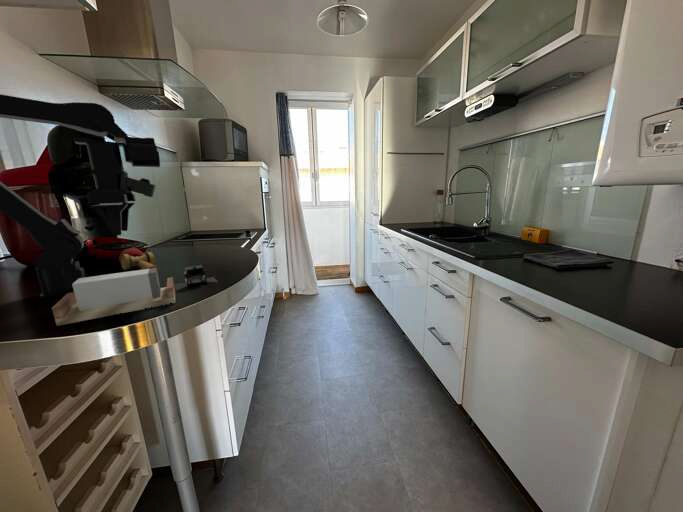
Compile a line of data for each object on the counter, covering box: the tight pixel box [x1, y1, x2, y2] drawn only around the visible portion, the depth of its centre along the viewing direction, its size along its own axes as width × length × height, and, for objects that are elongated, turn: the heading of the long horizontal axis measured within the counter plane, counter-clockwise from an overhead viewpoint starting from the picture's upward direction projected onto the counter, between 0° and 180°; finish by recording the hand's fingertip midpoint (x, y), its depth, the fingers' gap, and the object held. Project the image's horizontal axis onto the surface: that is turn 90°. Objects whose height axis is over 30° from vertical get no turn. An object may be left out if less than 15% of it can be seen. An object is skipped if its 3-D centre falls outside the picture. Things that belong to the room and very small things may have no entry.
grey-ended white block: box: [72, 268, 161, 311], centre depth 52 cm, size 12×4×5 cm, turn 121°
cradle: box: [51, 276, 176, 327], centre depth 53 cm, size 17×8×3 cm, turn 121°
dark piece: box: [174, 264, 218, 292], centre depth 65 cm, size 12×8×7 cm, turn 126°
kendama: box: [118, 247, 160, 275], centre depth 77 cm, size 8×6×18 cm
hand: (121, 232), depth 67 cm, fingers open, 9 cm apart
